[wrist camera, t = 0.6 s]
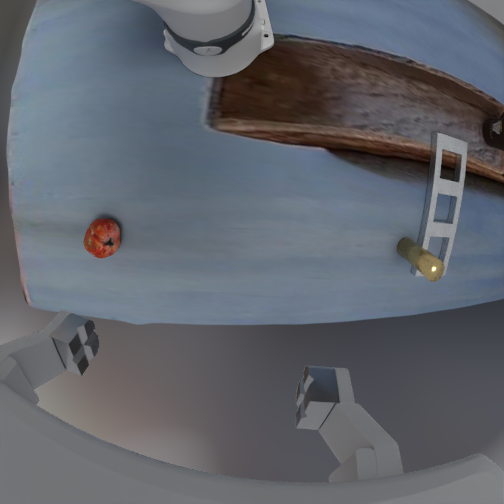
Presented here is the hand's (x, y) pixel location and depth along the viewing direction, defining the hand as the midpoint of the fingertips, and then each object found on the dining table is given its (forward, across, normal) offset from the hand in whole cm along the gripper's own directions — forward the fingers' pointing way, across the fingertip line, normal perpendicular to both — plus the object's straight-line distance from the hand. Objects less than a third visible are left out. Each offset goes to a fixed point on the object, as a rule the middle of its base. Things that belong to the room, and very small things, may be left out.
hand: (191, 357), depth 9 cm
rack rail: (+45, -38, 0) cm, 58 cm away
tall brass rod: (+43, -31, +9) cm, 54 cm away
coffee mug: (+48, -51, -23) cm, 74 cm away
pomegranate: (+37, +28, +14) cm, 49 cm away
